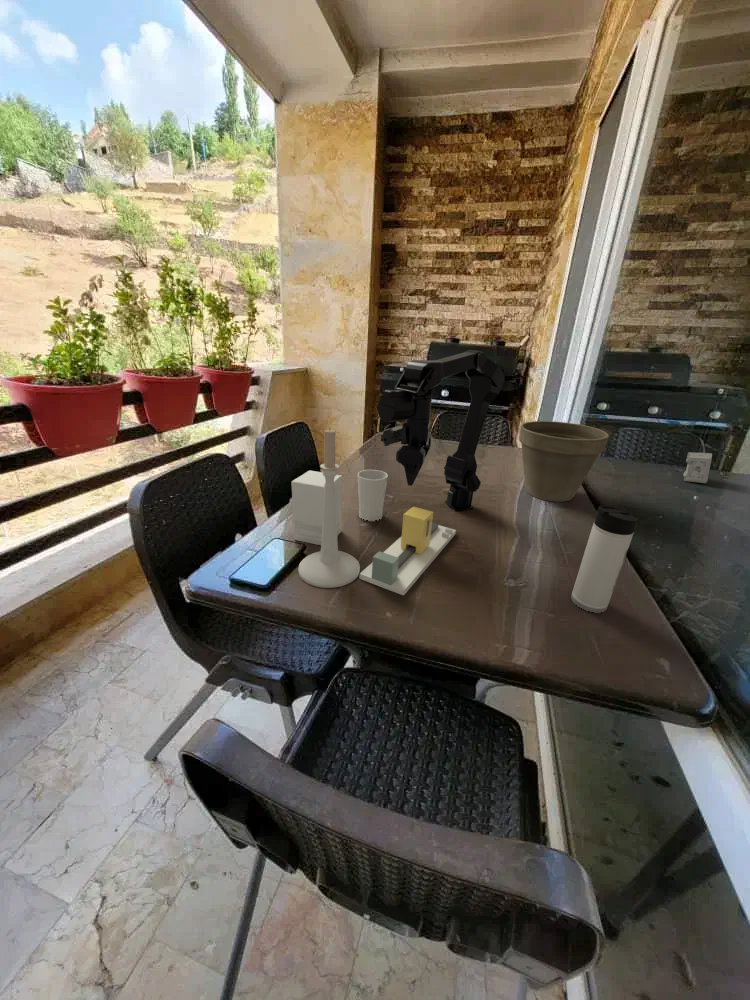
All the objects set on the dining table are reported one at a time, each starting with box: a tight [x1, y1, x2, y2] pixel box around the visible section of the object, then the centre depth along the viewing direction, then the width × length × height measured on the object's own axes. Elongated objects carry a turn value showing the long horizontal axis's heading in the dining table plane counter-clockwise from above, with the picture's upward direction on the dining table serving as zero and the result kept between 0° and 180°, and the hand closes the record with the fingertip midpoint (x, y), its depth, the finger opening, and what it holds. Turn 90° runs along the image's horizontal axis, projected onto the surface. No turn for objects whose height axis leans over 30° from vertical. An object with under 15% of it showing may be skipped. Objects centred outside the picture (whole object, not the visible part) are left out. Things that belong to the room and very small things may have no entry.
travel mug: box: [570, 505, 639, 614], centre depth 71 cm, size 6×7×20 cm
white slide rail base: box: [359, 522, 457, 596], centre depth 88 cm, size 30×10×6 cm, turn 150°
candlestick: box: [297, 427, 361, 589], centre depth 76 cm, size 13×13×30 cm
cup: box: [357, 469, 389, 522], centre depth 104 cm, size 8×8×12 cm
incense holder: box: [682, 451, 713, 484], centre depth 147 cm, size 10×8×10 cm
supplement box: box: [290, 470, 343, 546], centre depth 92 cm, size 9×9×15 cm
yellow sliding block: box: [400, 506, 434, 554], centre depth 87 cm, size 5×5×8 cm
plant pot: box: [518, 420, 610, 503], centre depth 124 cm, size 25×25×22 cm
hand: (413, 478), depth 98 cm, fingers open, 9 cm apart
